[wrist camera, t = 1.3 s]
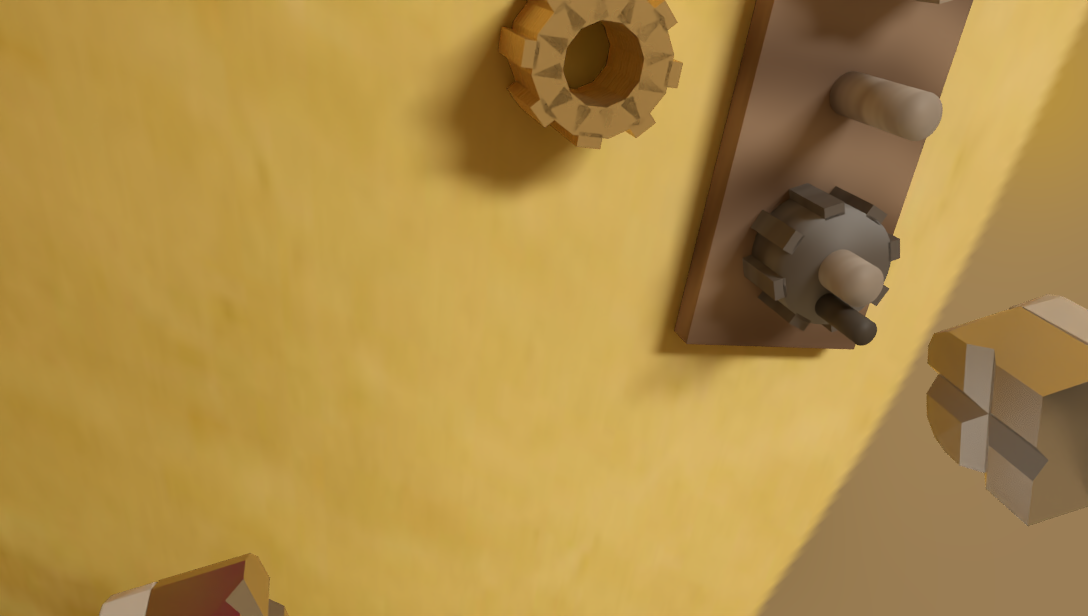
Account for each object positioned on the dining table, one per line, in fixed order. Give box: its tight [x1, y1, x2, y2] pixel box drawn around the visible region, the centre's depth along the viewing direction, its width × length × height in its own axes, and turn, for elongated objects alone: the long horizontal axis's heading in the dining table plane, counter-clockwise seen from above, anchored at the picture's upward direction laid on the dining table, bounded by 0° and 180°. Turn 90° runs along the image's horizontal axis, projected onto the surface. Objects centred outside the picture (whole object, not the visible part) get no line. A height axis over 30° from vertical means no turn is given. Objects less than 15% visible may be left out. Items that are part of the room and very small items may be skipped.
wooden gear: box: [498, 0, 683, 149], centre depth 34 cm, size 6×6×4 cm
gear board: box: [674, 0, 973, 349], centre depth 36 cm, size 26×10×8 cm, turn 171°
